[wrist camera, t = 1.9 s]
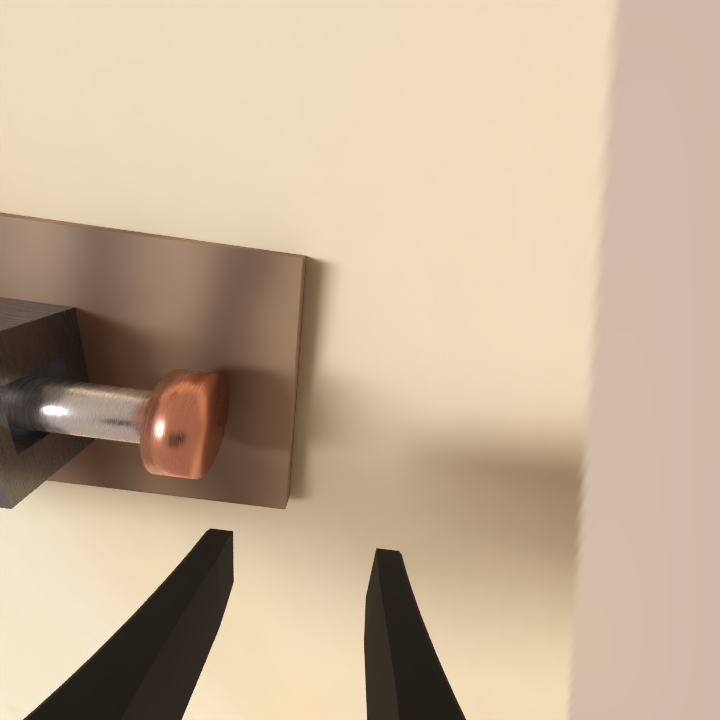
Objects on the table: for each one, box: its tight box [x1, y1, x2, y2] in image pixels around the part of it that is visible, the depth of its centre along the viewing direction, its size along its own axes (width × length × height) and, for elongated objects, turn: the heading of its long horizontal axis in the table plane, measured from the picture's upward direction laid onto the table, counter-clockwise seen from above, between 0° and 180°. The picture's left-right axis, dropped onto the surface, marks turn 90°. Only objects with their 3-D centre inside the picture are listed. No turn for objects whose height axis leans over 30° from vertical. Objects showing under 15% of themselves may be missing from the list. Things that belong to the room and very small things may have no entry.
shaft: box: [0, 369, 229, 479], centre depth 15 cm, size 10×4×4 cm, turn 82°
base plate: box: [0, 213, 306, 509], centre depth 18 cm, size 19×14×1 cm
